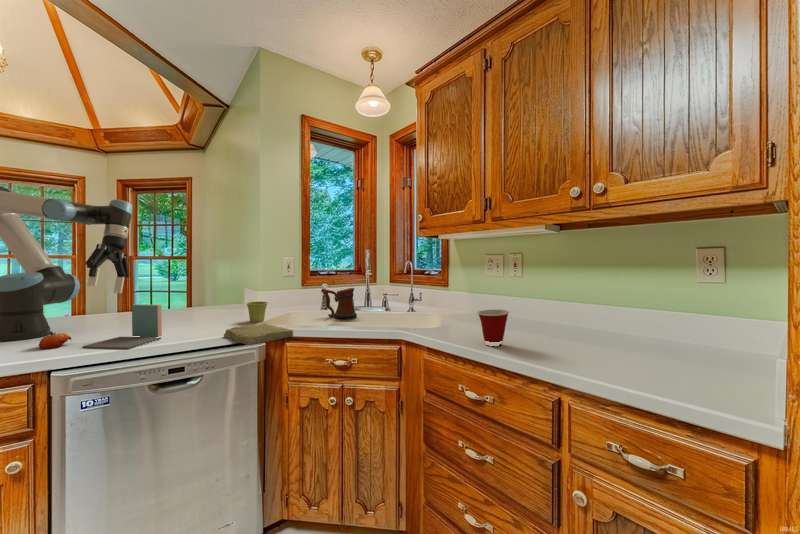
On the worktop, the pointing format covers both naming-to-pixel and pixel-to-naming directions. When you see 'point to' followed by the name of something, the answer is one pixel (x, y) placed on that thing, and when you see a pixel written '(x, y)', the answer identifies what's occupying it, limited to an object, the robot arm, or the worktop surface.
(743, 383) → the worktop surface
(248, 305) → the plant pot
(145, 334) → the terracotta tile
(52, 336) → the sweet potato
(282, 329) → the folded olive cloth
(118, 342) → the charcoal mat
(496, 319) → the plastic cup
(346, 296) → the mug
